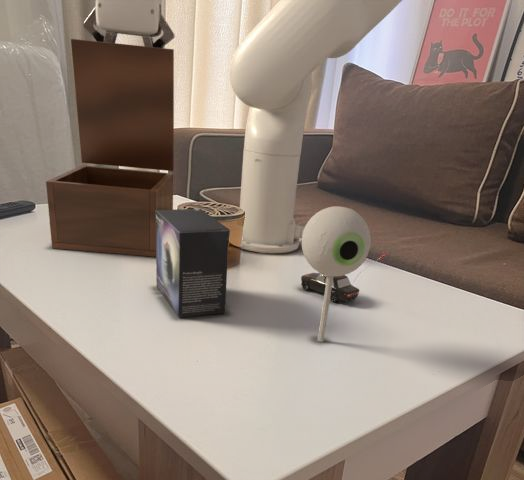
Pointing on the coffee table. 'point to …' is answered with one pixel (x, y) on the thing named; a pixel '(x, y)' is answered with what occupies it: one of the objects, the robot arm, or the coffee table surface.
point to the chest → (107, 209)
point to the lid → (125, 104)
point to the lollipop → (335, 247)
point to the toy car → (339, 286)
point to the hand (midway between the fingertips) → (130, 79)
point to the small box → (191, 261)
